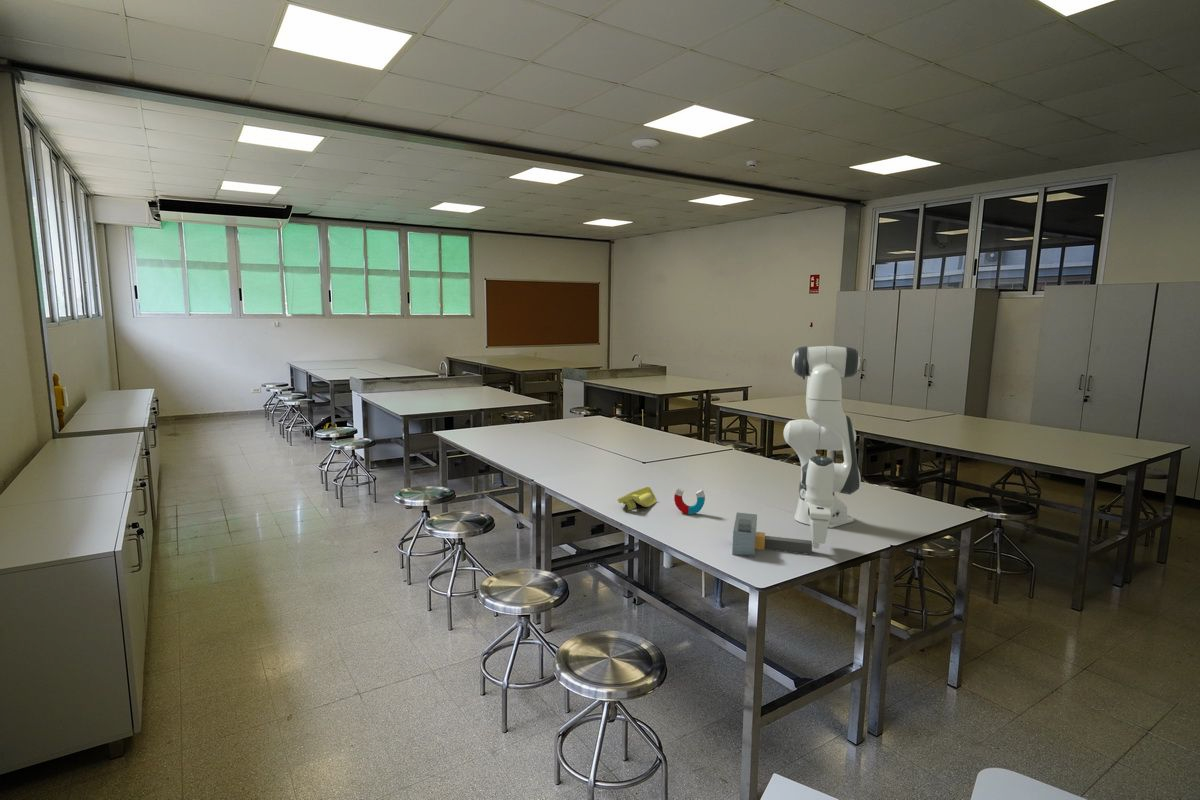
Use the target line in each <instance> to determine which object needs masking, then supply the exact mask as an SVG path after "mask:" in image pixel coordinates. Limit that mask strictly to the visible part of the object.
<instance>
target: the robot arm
mask: <svg viewBox="0 0 1200 800" xmlns="http://www.w3.org/2000/svg"><path fill="white" fill-rule="evenodd" d="M791 366H792V369H793V372H794V373H795V374H796V375H797V376H798V377H800V378H802V380H805V379H806V377H807V379H806V380H807V381H806V391H805V392H806V393H805V394H806V395H805V405H806V406H805V407H806V413H807V415H808V418H809V419H807V418H806V419H805V418H800V419H799V418H798V419H792V420H789V421H788V422H787V423H786V424H785V426H784V428H783V434H782V435H783V438H784V441H785V443H786V444H788V446H790V448H792V449H793V450H794V452H795V453H796V455H797V456H798V459H799V462H800V473H801V474H800V482H799V487H798V494H799V495H798V500H797V507H796V510H795V513H794V514H795V515H794V517H793V518H794V520H795V521H797V522H799V523H802V524H803V525H804V524H805V525H808V526H809V528H810V533H811V538H812V548H813V549H820V544H821V545H822V544H825V543H826V540H827V537H828V530H829V529H828V528H830V529H833V528H836V527H839V526H843V525H846V524H849V523H853V522H854V517H853V516H850V515H849V514H848V507H847V504H846V503H845V502H844V501H842V500H841V499H840V498H838V496H836V495H835V494H836V493H839V494H845V495H849V496H850V495H852V494H854V493H856V492H857V491H858V490H860V486H861V484H862V483H861V482H862V480H861V479H862V477H861V472H860V469H859V466H858V458H857V457H858V456H857V450H856V441H857V432H856V430H855V427H854V426H853V423H852V419H851V417H850V416H848V415H847V414H845V412H844V409H843V405H842V403H843V401H842V400H843V399H842V398H843V397H842V396H843V395H842V394H843V390H842V389H843V388H842V386H843V385H842V378H845V379H846V378H847V379H848V378H852V377H854V376H855V375H857V373H858V371H859V369H860V367H861V357H860V355H859V351H858V350H857V349H856V348H855V347H849V346H846V347H843V346H836V345H835V346H834V345H822V346H821V345H819V346H818V345H817V346H799V347H797V349H795V352H794V353H793V355H792V359H791ZM817 450H825V451H842V455H843V462H841V463H837V462H836V463H835V462H834V460H833V459H832V458H830V457H828V456H824V455H819V454H817V452H816V451H817Z"/></svg>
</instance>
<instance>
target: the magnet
mask: <svg viewBox="0 0 1200 800" xmlns="http://www.w3.org/2000/svg"><path fill="white" fill-rule="evenodd" d="M684 492H685V490H684V489H682V488H681V487H679V486H677V488H676V489H675V492H674V495H673V496H674V499H673V500H674V503H675V506H676V508H677V509H678V511H680V512H681V513H683V514H685V513H686V514H685V515H695V514H697V513H699V512H700V511H701V510H702V508H703V507H704V505H705V500H706V497H705V491H704V489H702V488H701V489H700V490H698V491H696V492H695V495H696V503H695V504H693V505H689V504H688V505H687V504H686V503H685V502H684V500H683V494H684Z"/></svg>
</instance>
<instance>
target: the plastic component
mask: <svg viewBox="0 0 1200 800" xmlns="http://www.w3.org/2000/svg"><path fill="white" fill-rule="evenodd" d="M617 502H618V503H619V504H623V505H626V507H627V510H628V509H629V510H628V511H630V510H634V509H636V508H637V504H638V505H641V506H642V507H643V508H644V507H645V508H649V507H651V506H653V505H655V504H656V503H657V497H656V495H655V494H654V493H653V490H652V489H651V487H650V486H645V487H643V488H640V489H637V490H634V491H632V492H630V493H627V494H625V495H624V496H621V497H619V498H618V499H617ZM636 503H637V504H636Z"/></svg>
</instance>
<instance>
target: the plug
mask: <svg viewBox="0 0 1200 800" xmlns="http://www.w3.org/2000/svg"><path fill="white" fill-rule="evenodd" d="M755 550H763V551H764V550H769V551H776V550H778V551H777V552H785V551H787V553H794V552H797V553H796V554H803V553H807V554H806V555H811V554H812V552H813V540H808V539H798V538H790V537H781V536H771V535H766V532H761V531H756V538H755ZM812 555H813V554H812Z"/></svg>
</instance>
